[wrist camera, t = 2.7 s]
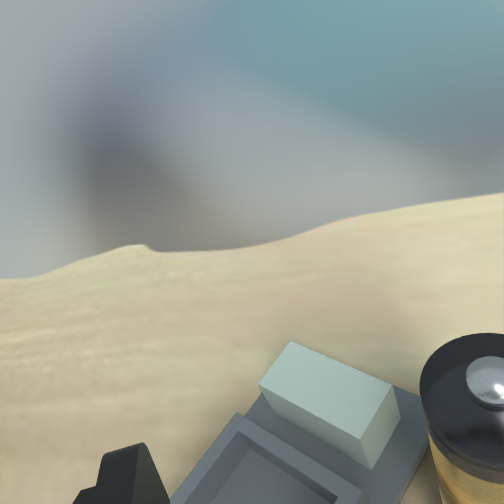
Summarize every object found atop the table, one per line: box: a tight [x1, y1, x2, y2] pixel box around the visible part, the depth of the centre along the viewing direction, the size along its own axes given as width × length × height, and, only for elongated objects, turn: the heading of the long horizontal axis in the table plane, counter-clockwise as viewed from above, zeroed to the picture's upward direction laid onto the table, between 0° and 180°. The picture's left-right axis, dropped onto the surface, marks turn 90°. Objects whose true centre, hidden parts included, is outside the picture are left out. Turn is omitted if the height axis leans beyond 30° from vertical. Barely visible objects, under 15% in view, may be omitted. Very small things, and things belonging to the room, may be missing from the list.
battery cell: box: [420, 333, 504, 504], centre depth 21 cm, size 5×5×15 cm
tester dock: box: [169, 341, 430, 504], centre depth 29 cm, size 18×12×5 cm, turn 140°
